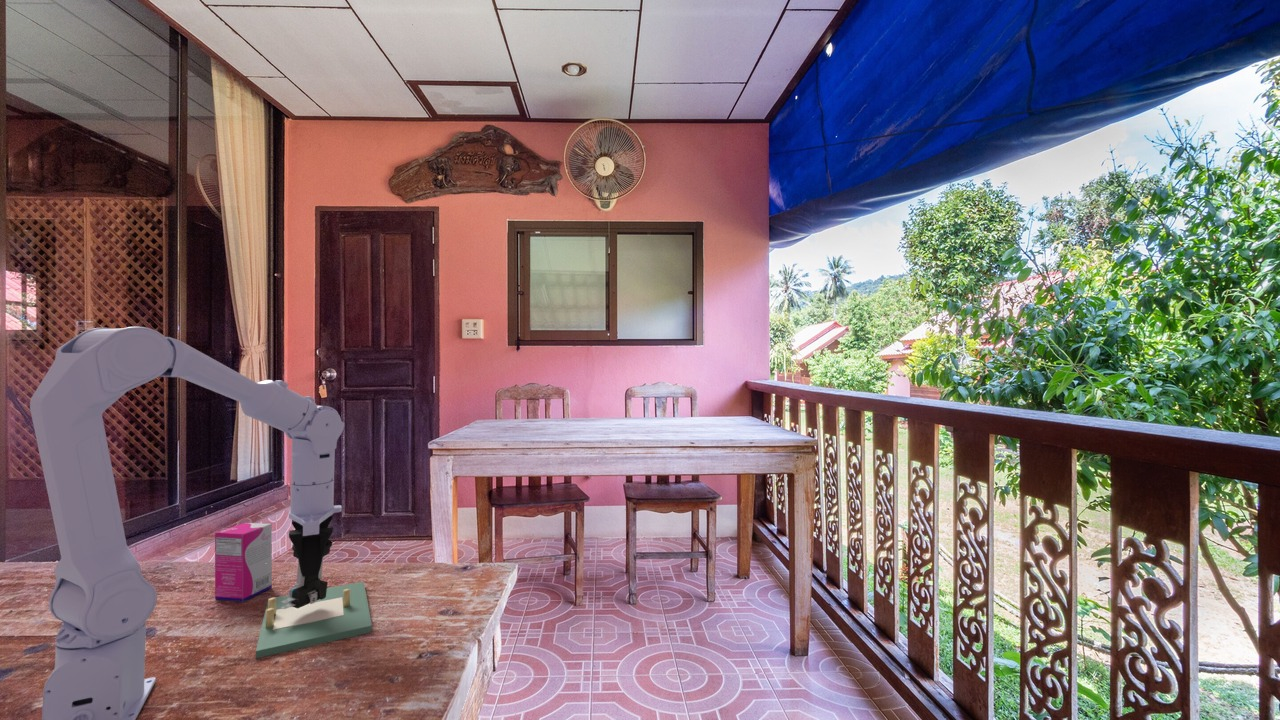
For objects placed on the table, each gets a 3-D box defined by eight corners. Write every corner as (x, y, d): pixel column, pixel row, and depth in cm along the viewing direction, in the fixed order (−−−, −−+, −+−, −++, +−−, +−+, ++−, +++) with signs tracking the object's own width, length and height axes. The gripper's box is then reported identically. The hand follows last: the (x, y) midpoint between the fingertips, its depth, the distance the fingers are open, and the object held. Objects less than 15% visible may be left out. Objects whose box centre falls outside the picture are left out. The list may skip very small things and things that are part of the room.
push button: (293, 616, 76) (300, 549, 76) (269, 607, 78) (276, 541, 78) (334, 599, 82) (340, 536, 83) (310, 591, 84) (317, 530, 84)
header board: (371, 632, 77) (372, 608, 77) (255, 658, 70) (256, 632, 70) (363, 587, 93) (364, 567, 93) (268, 604, 85) (268, 583, 85)
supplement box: (243, 585, 93) (245, 521, 93) (272, 588, 92) (274, 523, 92) (212, 599, 87) (214, 531, 87) (242, 602, 86) (244, 533, 86)
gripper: (343, 488, 77) (341, 579, 77) (341, 470, 89) (339, 549, 89) (286, 494, 73) (284, 590, 73) (292, 474, 86) (290, 556, 86)
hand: (310, 568), depth 81 cm, fingers closed on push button, 5 cm apart
